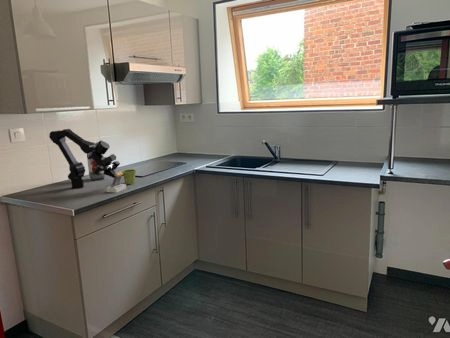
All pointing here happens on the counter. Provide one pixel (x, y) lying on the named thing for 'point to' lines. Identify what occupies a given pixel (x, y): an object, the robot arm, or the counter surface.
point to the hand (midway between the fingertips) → (116, 178)
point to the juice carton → (94, 167)
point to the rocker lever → (117, 178)
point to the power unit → (116, 188)
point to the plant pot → (129, 176)
